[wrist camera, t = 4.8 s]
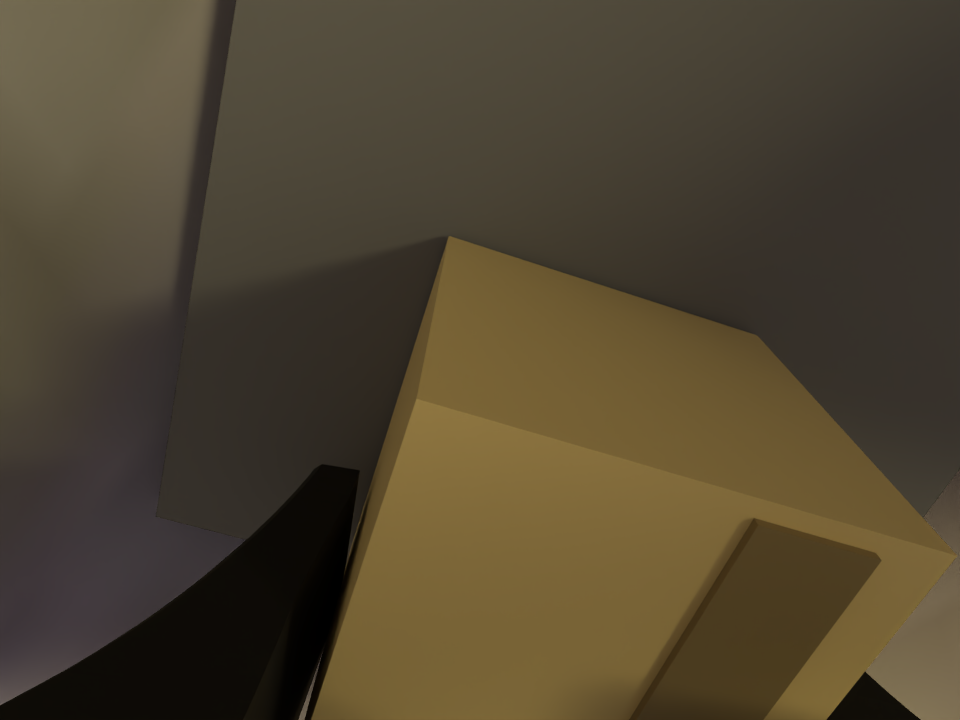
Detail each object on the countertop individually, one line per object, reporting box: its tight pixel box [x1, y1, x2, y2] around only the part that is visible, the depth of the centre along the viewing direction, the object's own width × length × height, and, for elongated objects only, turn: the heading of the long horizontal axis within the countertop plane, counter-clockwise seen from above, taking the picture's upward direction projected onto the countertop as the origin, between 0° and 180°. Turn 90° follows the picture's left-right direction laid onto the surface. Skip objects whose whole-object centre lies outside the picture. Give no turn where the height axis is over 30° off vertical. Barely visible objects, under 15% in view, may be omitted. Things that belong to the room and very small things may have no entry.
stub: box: [305, 236, 957, 720], centre depth 9 cm, size 5×6×5 cm
